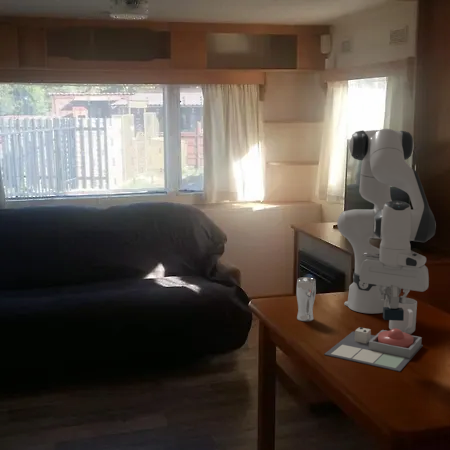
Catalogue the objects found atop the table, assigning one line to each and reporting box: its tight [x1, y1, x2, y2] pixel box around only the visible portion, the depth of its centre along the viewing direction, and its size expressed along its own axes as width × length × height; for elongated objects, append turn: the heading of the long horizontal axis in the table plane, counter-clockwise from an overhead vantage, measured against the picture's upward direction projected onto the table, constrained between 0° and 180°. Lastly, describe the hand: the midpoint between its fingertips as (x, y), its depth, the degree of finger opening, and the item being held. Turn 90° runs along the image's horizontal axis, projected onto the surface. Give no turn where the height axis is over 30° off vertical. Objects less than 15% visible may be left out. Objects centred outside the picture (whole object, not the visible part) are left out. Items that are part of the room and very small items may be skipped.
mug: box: [388, 297, 418, 335], centre depth 217 cm, size 12×9×11 cm
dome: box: [377, 328, 414, 348], centre depth 203 cm, size 11×11×6 cm
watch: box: [382, 285, 404, 321], centre depth 189 cm, size 6×8×11 cm
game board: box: [324, 326, 424, 373], centre depth 201 cm, size 25×24×4 cm
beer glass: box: [296, 276, 317, 322], centre depth 231 cm, size 7×7×15 cm
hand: (392, 300), depth 189 cm, fingers closed on watch, 4 cm apart
